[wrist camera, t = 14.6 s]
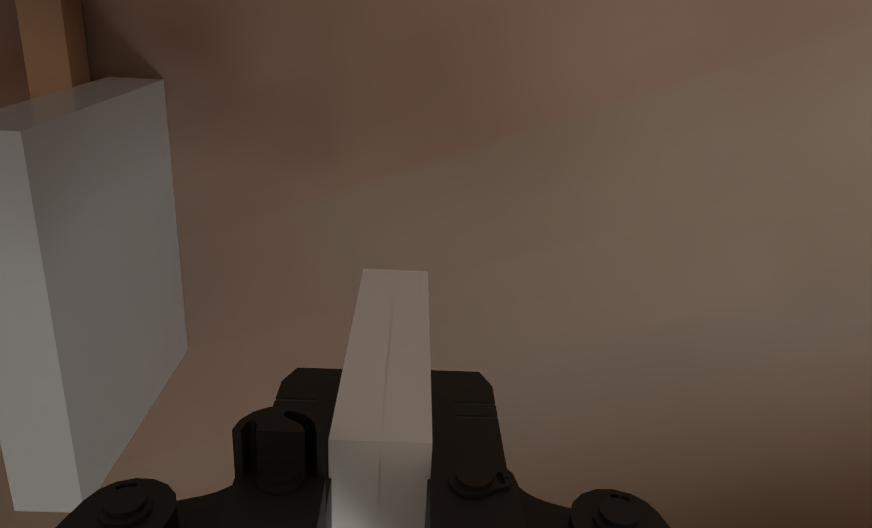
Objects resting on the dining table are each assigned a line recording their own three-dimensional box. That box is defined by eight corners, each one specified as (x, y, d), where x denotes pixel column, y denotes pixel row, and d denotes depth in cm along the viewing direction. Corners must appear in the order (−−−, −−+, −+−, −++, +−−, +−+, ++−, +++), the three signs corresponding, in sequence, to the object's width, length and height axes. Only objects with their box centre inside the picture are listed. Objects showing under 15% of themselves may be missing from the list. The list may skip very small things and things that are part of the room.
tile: (188, 349, 24) (83, 512, 17) (137, 347, 24) (10, 510, 17) (163, 79, 21) (20, 131, 13) (105, 76, 21) (-72, 127, 13)
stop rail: (132, 411, 25) (119, 431, 24) (98, 410, 25) (82, 430, 24) (78, -16, 20) (58, -17, 19) (34, -19, 20) (11, -19, 18)
